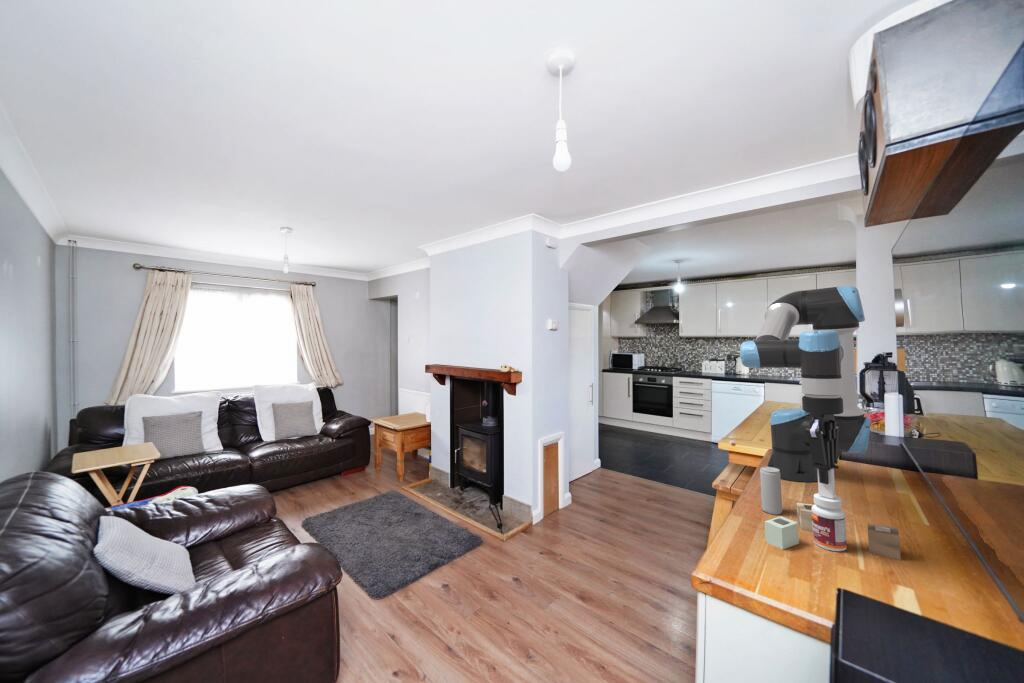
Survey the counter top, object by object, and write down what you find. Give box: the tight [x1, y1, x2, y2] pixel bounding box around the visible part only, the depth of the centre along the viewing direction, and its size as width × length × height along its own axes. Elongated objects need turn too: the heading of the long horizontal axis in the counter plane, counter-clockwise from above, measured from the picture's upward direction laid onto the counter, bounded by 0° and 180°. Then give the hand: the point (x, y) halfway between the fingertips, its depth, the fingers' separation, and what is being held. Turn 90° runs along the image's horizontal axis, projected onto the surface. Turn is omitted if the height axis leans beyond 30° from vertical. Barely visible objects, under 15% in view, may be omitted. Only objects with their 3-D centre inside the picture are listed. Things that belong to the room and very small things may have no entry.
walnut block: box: [866, 522, 902, 561], centre depth 86 cm, size 5×5×5 cm
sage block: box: [764, 515, 800, 550], centre depth 92 cm, size 6×4×5 cm, turn 112°
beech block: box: [796, 502, 814, 532], centre depth 99 cm, size 5×5×5 cm
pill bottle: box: [811, 492, 848, 552], centre depth 90 cm, size 6×6×11 cm
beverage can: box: [759, 466, 783, 516], centre depth 108 cm, size 5×5×12 cm
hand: (826, 496), depth 90 cm, fingers closed
